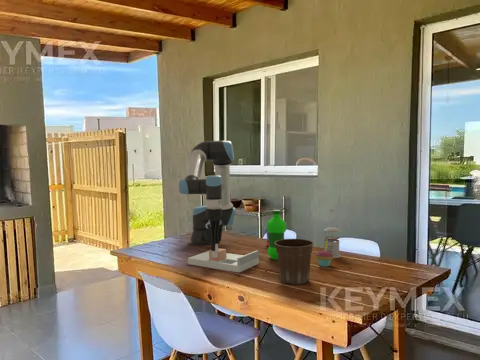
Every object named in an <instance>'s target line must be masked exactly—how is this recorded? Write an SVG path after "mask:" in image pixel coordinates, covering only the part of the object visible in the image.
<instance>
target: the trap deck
mask: <svg viewBox="0 0 480 360" xmlns="http://www.w3.org/2000/svg"><path fill="white" fill-rule="evenodd" d="M259 254H260V251H259V250H254V251H251V252H250V253H246V254H245V255H242V254H237V253H235V254H234V253H230V252H229V253H227V252H226V259H223V260H221V261H216V260H209V250H207V251H204V252H201V253H198V254H196V255H193V256H190V257H187V265H190V266H191V265H192V266H197V267H198V266H199V267H204V268H210V269H216V270H222V271H228V272H234V273H242V272H244V271H247V270H249V269H250V268H252V267H255V266H256V265H259V263H260V262H259V261H260V260H259V259H260V256H259Z"/></svg>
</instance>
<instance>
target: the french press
mask: <svg viewBox="0 0 480 360" xmlns="http://www.w3.org/2000/svg"><path fill="white" fill-rule="evenodd" d="M329 211H330V212H334V211H335V210H334V209H333V208H331V209H329ZM323 231H324V232H323V234H322V236H324V239H323V240H322V242H323V244H324V246H323V247H324V249H323V251H325V247H326V241H327V251H329V252H331V253H332V254H333V259H338V258H341V257H342V255H341V254H340V239H339V237H338V236H333V235H329V233H339V232H340V229H339V228H337V227H335V226H334V227H333V226H330V227H326V228H325V229H323ZM324 234H325V235H324ZM326 235H328V236H326Z"/></svg>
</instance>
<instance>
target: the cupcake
mask: <svg viewBox="0 0 480 360" xmlns="http://www.w3.org/2000/svg"><path fill="white" fill-rule="evenodd" d="M327 242H328V240H327V241H326V247H325V251H324V249H323V250H319V251H317V252H316V254H315V259H317V262H318V265H319V266H320V267H326V268H327V267H329V266H330V265H331V262H332V261H333V259H334V258H333V254H332V253H331V252H329V251H328V250H327V248H328V247H327V246H328V245H327Z"/></svg>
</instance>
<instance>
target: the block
mask: <svg viewBox="0 0 480 360" xmlns="http://www.w3.org/2000/svg"><path fill="white" fill-rule="evenodd" d="M208 251H209V260H216V261H221V260H223V259H226V253H227V248H220V247H218V257H217V258H213V257H212V251H211V249H208Z"/></svg>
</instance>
